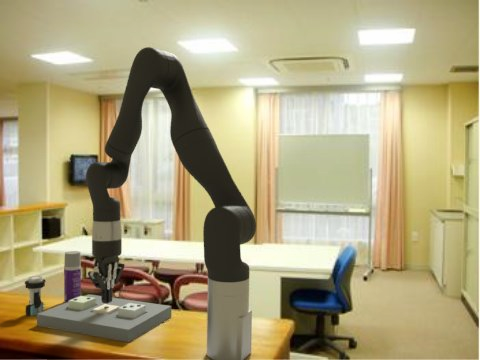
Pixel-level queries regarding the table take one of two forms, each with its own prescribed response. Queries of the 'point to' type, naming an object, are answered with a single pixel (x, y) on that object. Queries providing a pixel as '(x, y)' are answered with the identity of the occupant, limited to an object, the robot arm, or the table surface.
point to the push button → (35, 295)
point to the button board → (104, 320)
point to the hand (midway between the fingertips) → (107, 302)
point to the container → (72, 275)
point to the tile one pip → (106, 309)
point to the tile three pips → (131, 310)
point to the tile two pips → (82, 303)
